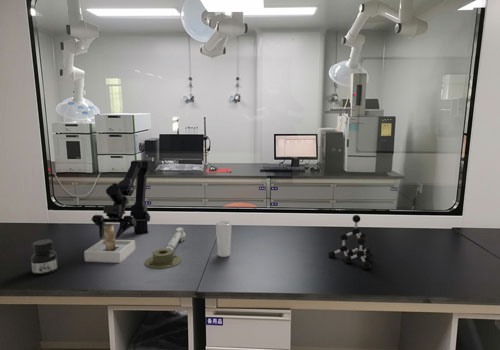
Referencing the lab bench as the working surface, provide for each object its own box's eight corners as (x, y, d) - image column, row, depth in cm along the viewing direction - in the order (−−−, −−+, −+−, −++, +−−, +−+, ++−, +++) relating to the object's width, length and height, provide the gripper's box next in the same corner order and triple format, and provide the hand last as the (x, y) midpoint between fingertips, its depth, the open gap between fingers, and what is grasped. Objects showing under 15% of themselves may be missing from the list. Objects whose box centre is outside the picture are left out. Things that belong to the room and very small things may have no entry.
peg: (113, 251, 158) (110, 223, 156) (117, 253, 155) (115, 225, 153) (104, 254, 155) (101, 226, 153) (109, 256, 152) (106, 227, 150)
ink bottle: (29, 277, 133) (26, 247, 131) (33, 268, 141) (30, 240, 139) (58, 273, 137) (55, 243, 135) (60, 265, 145) (57, 237, 143)
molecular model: (367, 271, 138) (369, 222, 135) (326, 257, 153) (327, 213, 150) (389, 260, 150) (392, 215, 147) (349, 248, 165) (351, 206, 162)
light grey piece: (161, 248, 153) (175, 224, 177) (162, 261, 155) (176, 236, 179) (173, 248, 153) (185, 224, 177) (174, 261, 155) (186, 236, 178)
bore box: (103, 248, 163) (102, 239, 163) (135, 249, 162) (134, 240, 161) (84, 261, 148) (84, 251, 147) (120, 262, 147) (119, 252, 146)
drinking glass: (233, 253, 157) (233, 221, 155) (228, 258, 151) (227, 225, 149) (220, 251, 159) (219, 219, 157) (213, 257, 153) (213, 223, 151)
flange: (188, 251, 148) (168, 243, 158) (157, 261, 137) (137, 252, 147) (188, 262, 148) (168, 253, 159) (157, 273, 138) (138, 262, 148)
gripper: (92, 197, 156) (79, 228, 147) (132, 198, 154) (122, 229, 145) (102, 210, 165) (91, 240, 156) (140, 211, 163) (131, 241, 154)
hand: (108, 237), depth 152 cm, fingers open, 7 cm apart
